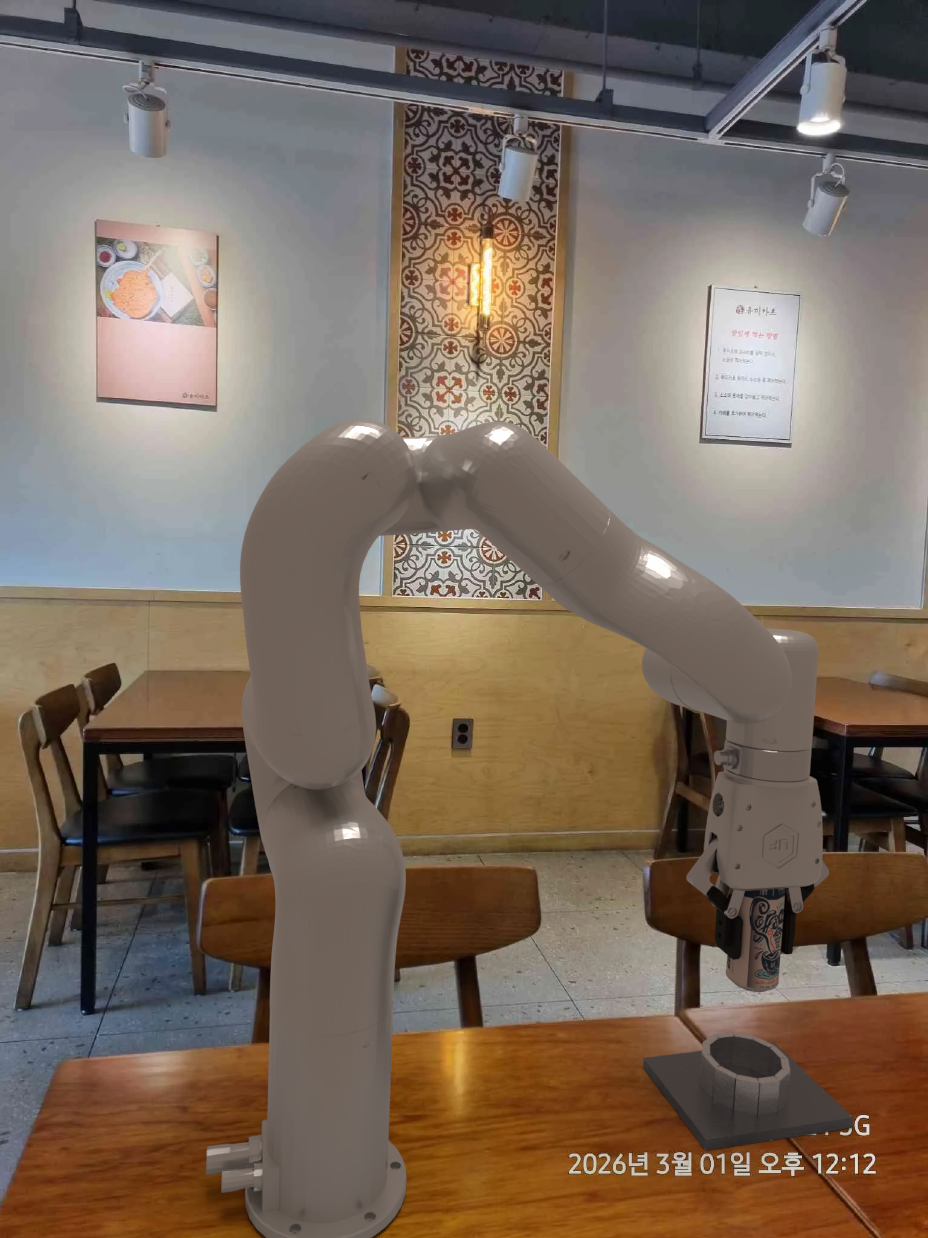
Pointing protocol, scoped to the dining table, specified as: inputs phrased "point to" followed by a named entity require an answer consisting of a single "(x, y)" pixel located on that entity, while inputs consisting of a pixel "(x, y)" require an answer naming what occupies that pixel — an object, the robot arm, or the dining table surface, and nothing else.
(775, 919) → the canned coffee drink
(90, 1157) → the dining table surface
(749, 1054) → the can stand
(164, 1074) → the dining table surface
